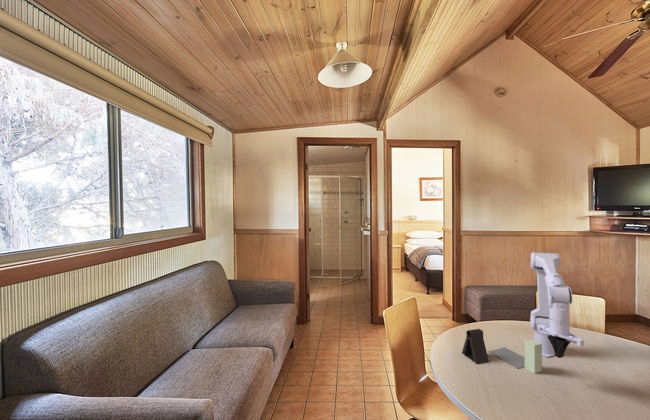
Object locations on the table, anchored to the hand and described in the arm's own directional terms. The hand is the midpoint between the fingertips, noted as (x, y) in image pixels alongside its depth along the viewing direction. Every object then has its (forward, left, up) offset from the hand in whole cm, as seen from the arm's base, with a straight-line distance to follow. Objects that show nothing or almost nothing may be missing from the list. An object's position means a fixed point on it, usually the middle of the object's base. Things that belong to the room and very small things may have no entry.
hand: (559, 356), depth 106 cm
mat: (0, -19, -10) cm, 21 cm away
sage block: (0, -9, -10) cm, 14 cm away
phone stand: (+14, -24, -10) cm, 30 cm away
